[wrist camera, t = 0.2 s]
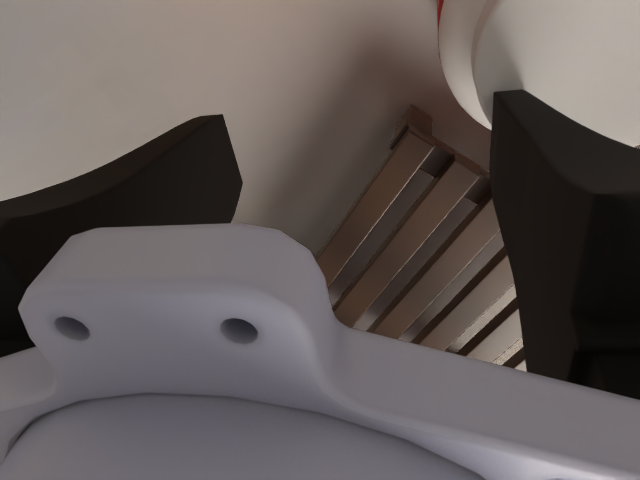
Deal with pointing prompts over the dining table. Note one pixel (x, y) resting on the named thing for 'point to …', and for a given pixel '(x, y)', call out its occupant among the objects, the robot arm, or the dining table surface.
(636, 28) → the pill bottle
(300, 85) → the dining table surface
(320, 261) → the rack
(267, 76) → the dining table surface
